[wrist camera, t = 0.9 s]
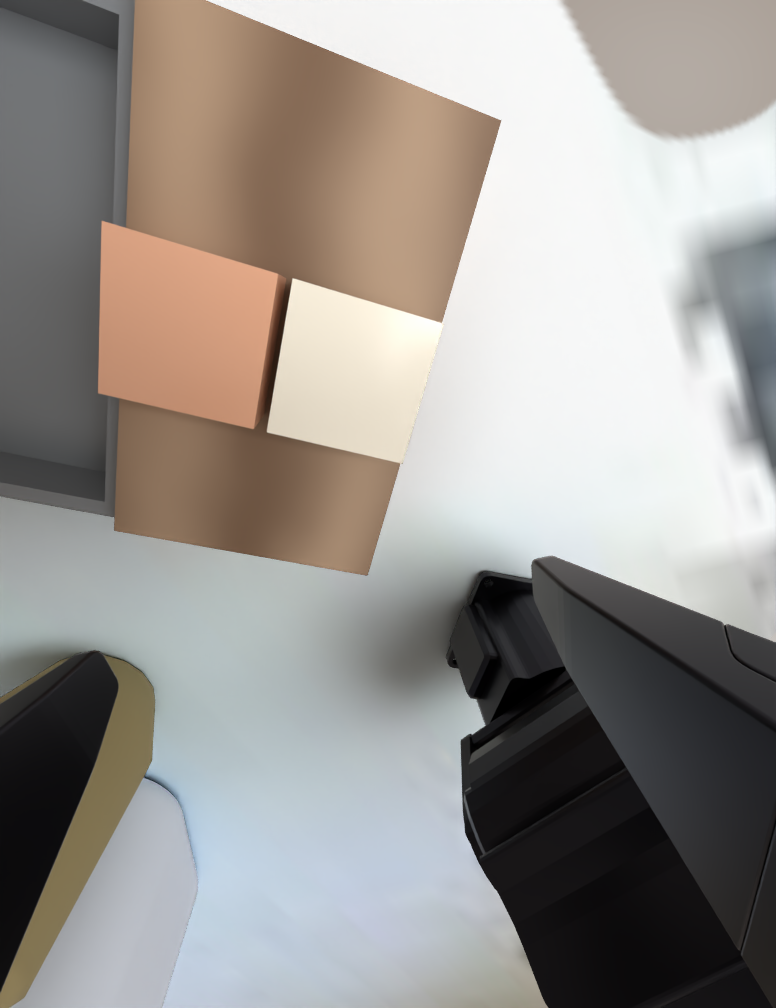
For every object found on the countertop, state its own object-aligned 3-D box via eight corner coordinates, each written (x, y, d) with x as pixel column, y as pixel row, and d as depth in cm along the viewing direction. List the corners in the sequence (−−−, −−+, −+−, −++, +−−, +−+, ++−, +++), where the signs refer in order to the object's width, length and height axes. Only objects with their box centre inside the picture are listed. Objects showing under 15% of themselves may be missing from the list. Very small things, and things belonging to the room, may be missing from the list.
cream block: (431, 322, 15) (444, 323, 13) (395, 446, 17) (402, 463, 15) (299, 282, 14) (292, 277, 12) (275, 418, 16) (266, 432, 14)
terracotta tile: (286, 278, 14) (278, 273, 12) (263, 415, 16) (253, 429, 14) (135, 233, 13) (101, 220, 11) (128, 382, 15) (98, 393, 13)
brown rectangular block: (466, 162, 17) (501, 120, 13) (363, 532, 22) (367, 575, 19) (187, 56, 15) (136, -28, 11) (154, 491, 20) (114, 530, 17)
